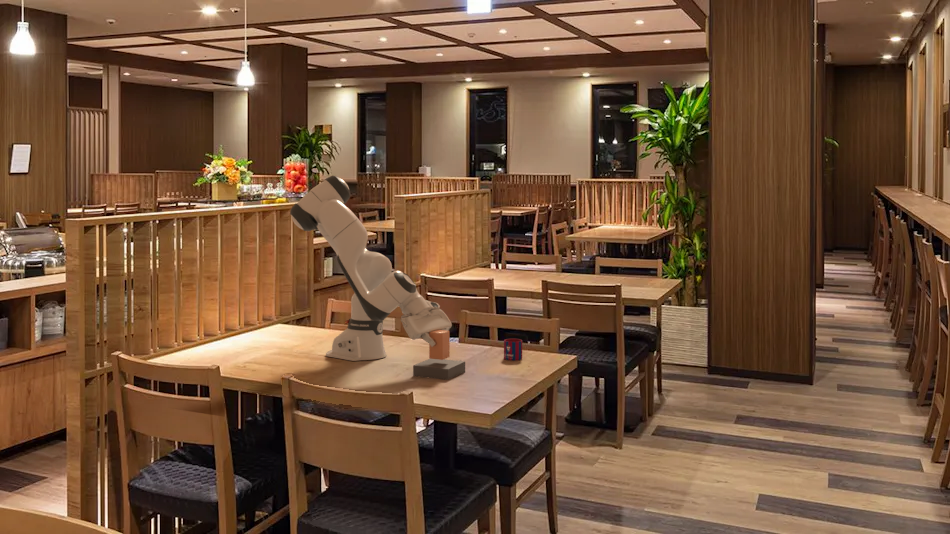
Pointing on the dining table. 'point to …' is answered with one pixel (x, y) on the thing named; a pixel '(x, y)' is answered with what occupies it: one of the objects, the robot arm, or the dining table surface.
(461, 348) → the dining table surface
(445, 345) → the terracotta column
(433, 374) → the grey flat block
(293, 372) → the dining table surface
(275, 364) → the dining table surface
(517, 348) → the mug
